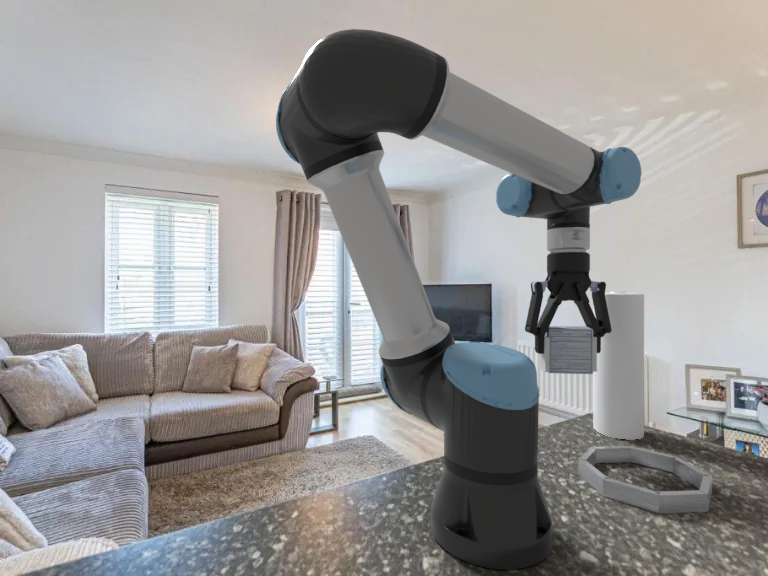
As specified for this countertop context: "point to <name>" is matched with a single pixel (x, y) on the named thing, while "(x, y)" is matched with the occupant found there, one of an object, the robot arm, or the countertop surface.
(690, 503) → the collar
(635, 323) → the cylinder container
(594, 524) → the countertop surface
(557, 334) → the medicine box
